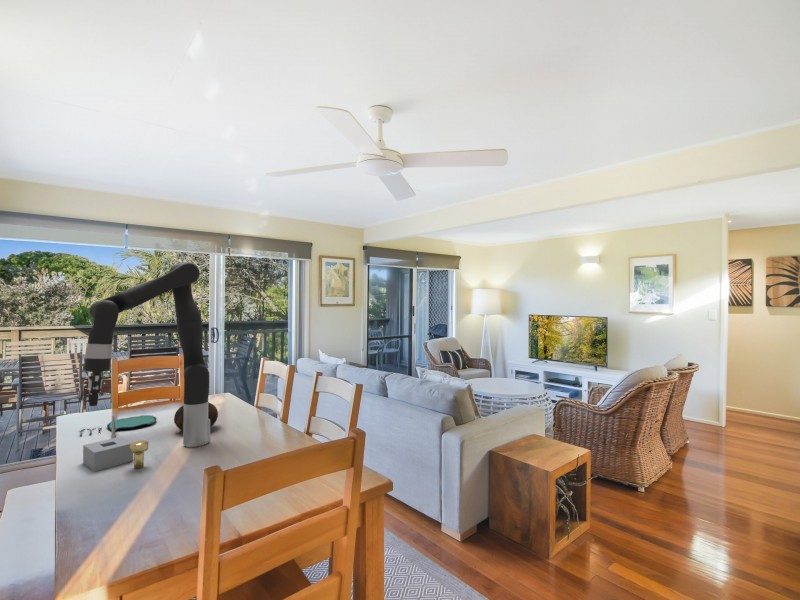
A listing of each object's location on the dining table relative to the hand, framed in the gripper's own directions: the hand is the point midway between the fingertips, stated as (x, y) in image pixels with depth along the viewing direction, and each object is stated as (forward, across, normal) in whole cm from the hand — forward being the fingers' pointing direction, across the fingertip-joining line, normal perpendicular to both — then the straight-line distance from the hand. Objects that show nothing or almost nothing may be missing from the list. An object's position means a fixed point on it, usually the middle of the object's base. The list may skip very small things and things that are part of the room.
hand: (92, 404), depth 141 cm
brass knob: (+22, -4, -15) cm, 27 cm away
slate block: (+22, +9, -7) cm, 25 cm away
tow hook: (+21, +28, -8) cm, 36 cm away
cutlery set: (+19, +57, -14) cm, 62 cm away
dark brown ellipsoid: (+18, +29, -41) cm, 53 cm away
